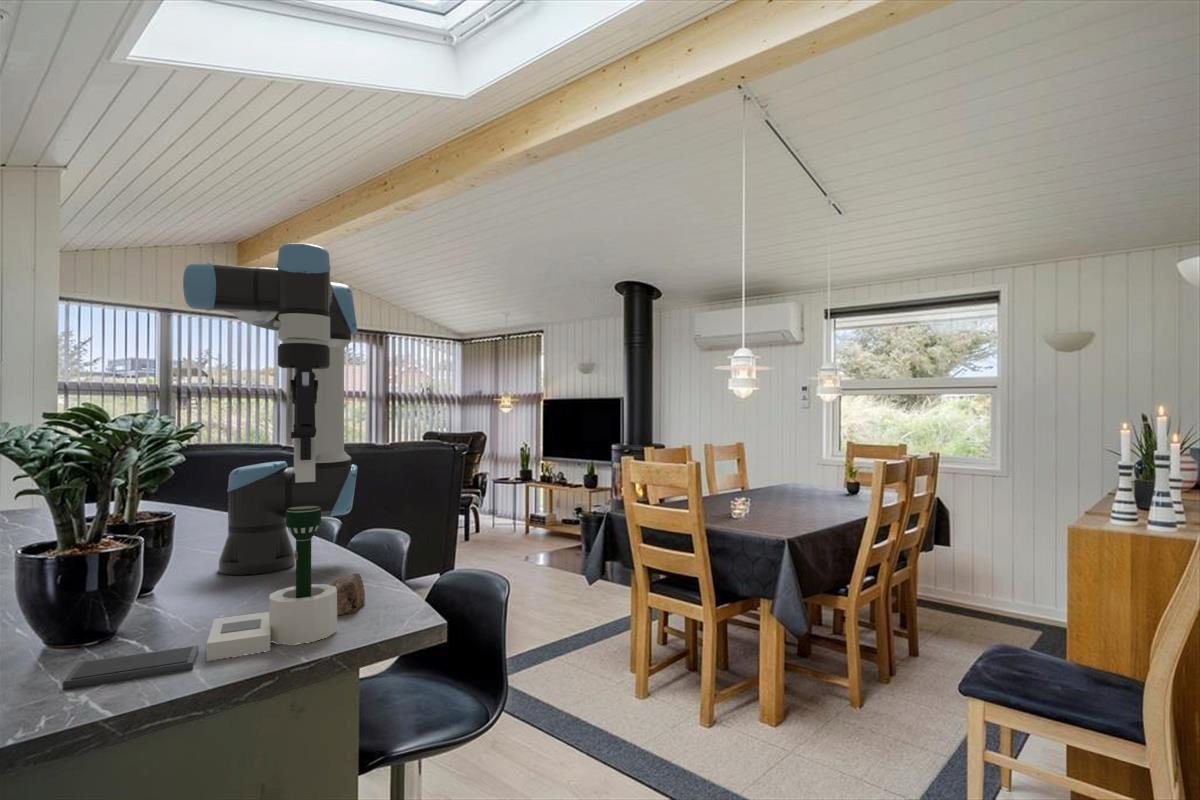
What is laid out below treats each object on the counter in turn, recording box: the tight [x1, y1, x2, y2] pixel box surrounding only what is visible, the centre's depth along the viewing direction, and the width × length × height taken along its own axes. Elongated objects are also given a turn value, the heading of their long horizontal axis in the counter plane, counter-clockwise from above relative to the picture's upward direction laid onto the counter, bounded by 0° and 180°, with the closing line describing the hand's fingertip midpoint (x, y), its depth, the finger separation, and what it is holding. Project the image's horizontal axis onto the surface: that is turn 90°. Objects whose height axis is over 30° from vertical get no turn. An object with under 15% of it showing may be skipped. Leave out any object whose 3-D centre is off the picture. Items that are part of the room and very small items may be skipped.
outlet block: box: [206, 583, 338, 662], centre depth 100 cm, size 12×17×6 cm
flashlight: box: [286, 505, 322, 598], centre depth 102 cm, size 5×5×20 cm
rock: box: [328, 572, 366, 616], centre depth 117 cm, size 15×10×6 cm
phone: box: [62, 644, 200, 691], centre depth 88 cm, size 7×14×1 cm, turn 116°
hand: (304, 477), depth 102 cm, fingers open, 13 cm apart
